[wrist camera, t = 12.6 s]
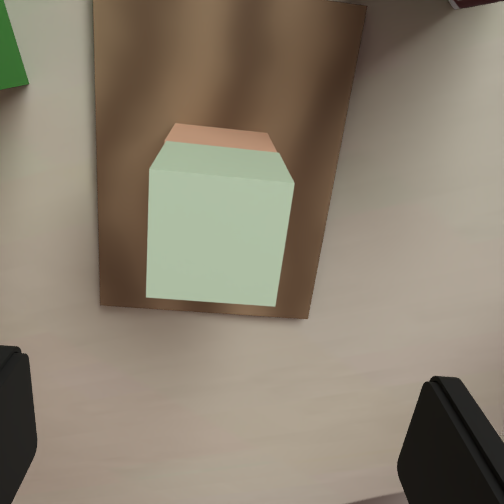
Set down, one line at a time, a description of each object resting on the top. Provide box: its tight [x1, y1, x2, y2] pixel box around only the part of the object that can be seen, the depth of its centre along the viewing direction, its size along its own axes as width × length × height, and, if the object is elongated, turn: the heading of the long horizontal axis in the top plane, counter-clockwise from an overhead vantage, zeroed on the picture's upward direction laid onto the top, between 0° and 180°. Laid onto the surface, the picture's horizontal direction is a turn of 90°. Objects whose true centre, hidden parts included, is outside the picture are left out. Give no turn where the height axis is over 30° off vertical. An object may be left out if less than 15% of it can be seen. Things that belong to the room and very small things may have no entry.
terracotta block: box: [164, 123, 277, 152], centre depth 28 cm, size 6×6×6 cm
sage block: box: [146, 141, 295, 307], centre depth 23 cm, size 6×6×6 cm
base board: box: [93, 0, 367, 319], centre depth 31 cm, size 16×22×1 cm
